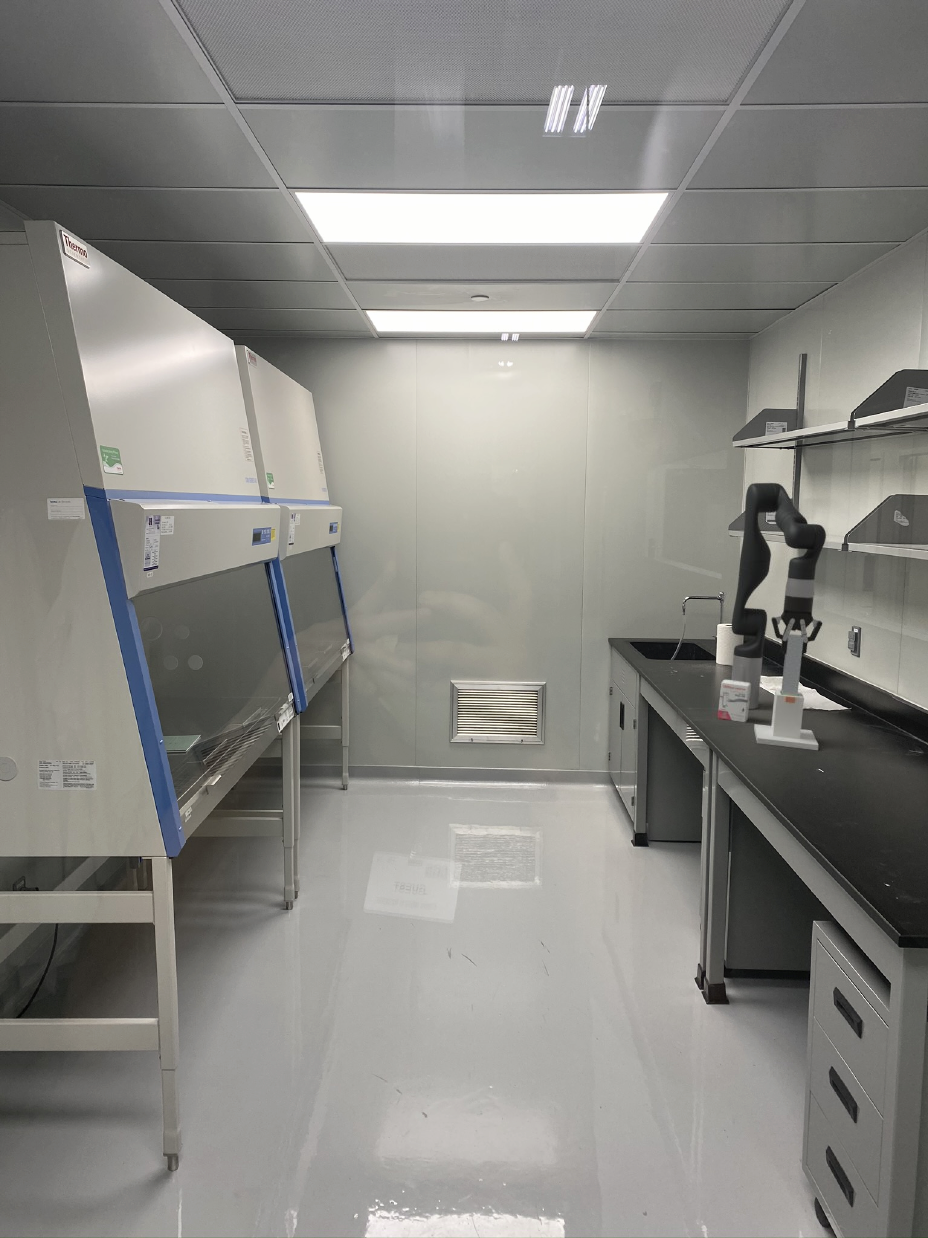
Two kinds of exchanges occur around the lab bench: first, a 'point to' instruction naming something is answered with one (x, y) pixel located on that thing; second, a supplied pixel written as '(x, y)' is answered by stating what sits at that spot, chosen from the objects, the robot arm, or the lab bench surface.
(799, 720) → the stand housing
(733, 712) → the ink box
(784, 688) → the steel post
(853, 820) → the lab bench surface
